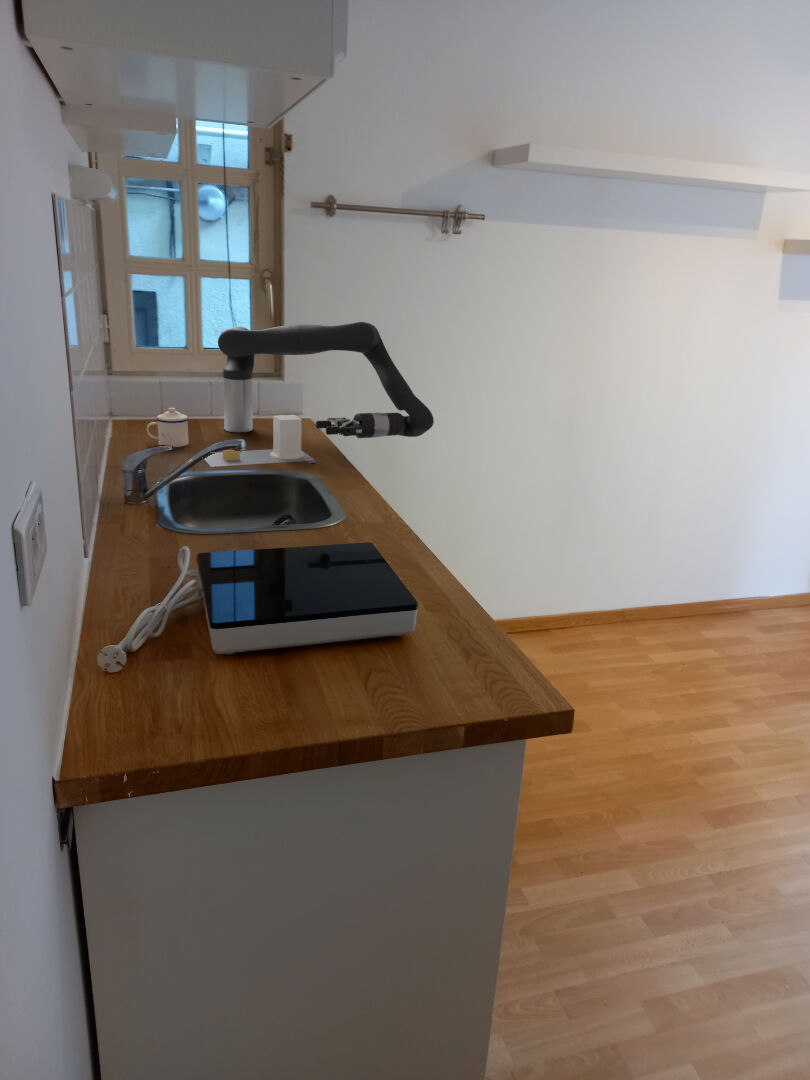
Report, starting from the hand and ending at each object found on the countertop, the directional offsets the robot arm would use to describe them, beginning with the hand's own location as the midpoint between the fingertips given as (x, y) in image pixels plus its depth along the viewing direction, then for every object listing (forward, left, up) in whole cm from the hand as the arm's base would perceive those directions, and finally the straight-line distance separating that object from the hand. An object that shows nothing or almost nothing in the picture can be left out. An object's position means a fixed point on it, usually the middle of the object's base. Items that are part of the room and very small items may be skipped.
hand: (321, 427), depth 230 cm
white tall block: (0, -10, -8) cm, 13 cm away
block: (0, -27, -8) cm, 28 cm away
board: (0, -19, -9) cm, 21 cm away
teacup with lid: (-22, -40, -9) cm, 47 cm away
